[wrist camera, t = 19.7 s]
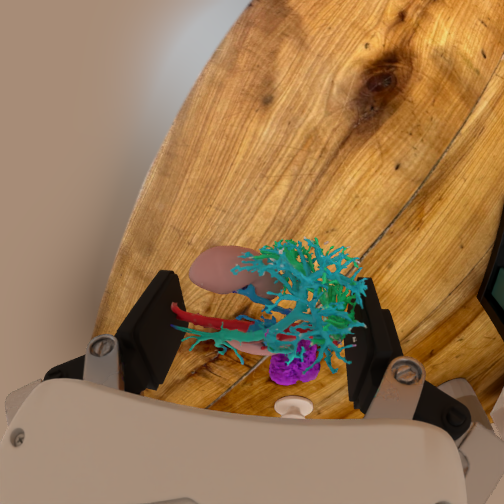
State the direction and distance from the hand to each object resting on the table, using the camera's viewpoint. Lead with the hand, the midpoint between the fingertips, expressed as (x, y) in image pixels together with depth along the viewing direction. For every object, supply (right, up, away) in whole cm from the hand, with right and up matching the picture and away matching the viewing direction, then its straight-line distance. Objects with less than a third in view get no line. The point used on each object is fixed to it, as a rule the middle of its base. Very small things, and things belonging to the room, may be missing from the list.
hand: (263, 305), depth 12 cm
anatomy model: (0, +1, +1) cm, 1 cm away
